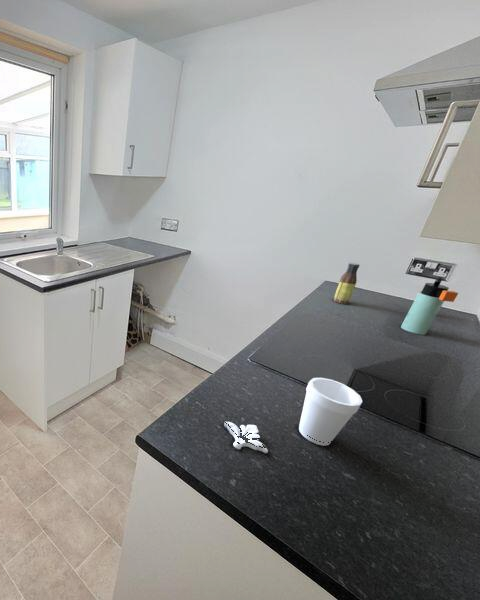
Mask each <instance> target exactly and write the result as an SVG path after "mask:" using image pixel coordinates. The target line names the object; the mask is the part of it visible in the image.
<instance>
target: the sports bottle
mask: <svg viewBox="0 0 480 600" xmlns="http://www.w3.org/2000/svg"><path fill="white" fill-rule="evenodd" d="M442 281H443V278H442V277H441V276H438V277H437V278H435V280H434V282H426V283H425V284H424V286H423V288H422V289H421V291H418V293H417V295H416V297H415V298H414V300H413V302H412V304H411V307H410V308H409V310H408V312H407V314H406V316H405V318H404V320H403V321H402V323H401V326H400V328H401V329H402V330H404V331H406V332H409V333H412V334H416V335H423V336H424V335H426V334H427V333H428V331H429V330H430V327H431V326H432V324H433V322H434V320H435V319H436V317H437V315H438V313H439V312H440V310H441V308H442V306H443V305H444V303H445V301H442V300H440V299H439V297H440V295H441V293H442V291H443V290H445V291H449V289H450V288H449V287H448V286H446V285H443V284H441V283H442Z"/></svg>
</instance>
